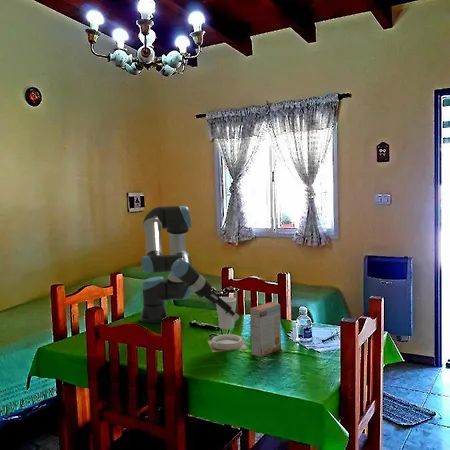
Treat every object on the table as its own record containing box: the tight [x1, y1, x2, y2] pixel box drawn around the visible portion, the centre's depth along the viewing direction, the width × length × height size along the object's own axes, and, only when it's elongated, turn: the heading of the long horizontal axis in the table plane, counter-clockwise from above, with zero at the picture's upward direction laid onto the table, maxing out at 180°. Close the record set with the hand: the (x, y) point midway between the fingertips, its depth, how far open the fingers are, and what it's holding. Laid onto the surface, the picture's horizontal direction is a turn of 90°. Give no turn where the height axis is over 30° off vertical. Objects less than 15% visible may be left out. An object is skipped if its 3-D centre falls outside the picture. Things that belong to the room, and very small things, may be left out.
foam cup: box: [215, 296, 237, 330], centre depth 212 cm, size 10×9×13 cm
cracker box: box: [249, 301, 282, 358], centre depth 203 cm, size 14×6×21 cm, turn 134°
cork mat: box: [206, 339, 249, 353], centre depth 214 cm, size 16×16×1 cm
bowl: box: [211, 333, 243, 350], centre depth 214 cm, size 14×14×2 cm
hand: (232, 315), depth 214 cm, fingers closed on foam cup, 9 cm apart
